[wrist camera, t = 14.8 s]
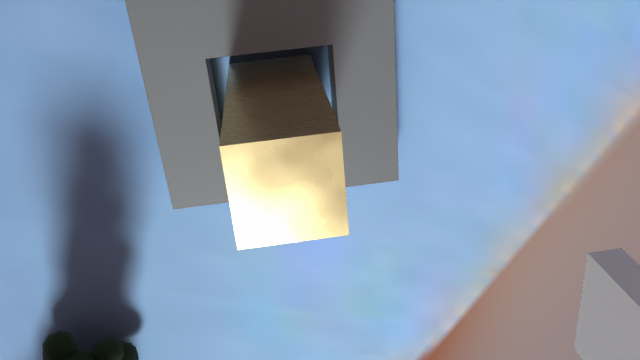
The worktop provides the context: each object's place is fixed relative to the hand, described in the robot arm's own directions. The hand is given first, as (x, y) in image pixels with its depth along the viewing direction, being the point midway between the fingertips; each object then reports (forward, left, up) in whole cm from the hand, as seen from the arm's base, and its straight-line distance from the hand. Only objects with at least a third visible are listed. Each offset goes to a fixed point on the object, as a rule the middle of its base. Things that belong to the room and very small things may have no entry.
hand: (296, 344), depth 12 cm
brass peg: (0, +1, -22) cm, 22 cm away
